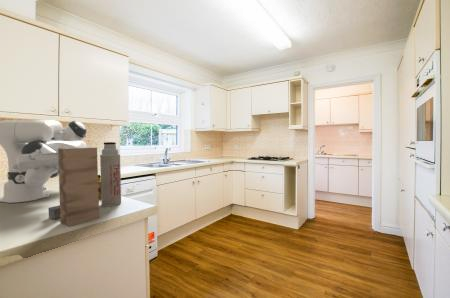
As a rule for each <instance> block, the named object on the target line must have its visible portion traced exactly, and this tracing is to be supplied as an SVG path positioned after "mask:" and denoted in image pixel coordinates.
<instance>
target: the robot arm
mask: <svg viewBox="0 0 450 298" xmlns="http://www.w3.org/2000/svg"><path fill="white" fill-rule="evenodd" d="M86 133H87V127H86V126H85V125H84V124H83V123H81V122H80V121H77V120H72V121H70V122H69V123H68V125H66V126H65V127H64V126H63V124H62V123H61V122H60V121H59V120H55V119H52V118H51V119H49V118H47V119H46V118H44V119H43V118H42V119H41V118H40V119H34V120H33V119H32V120H31V119H30V120H28V119H27V120H24V119H23V120H22V119H21V120H18V119H17V120H15V119H11V120H10V119H9V120H8V119H7V120H5V119H4V120H0V146H1V148H2V149H3V150H4V151H5V154H6V158H7V164H8V171H7V175H6V177H7V181H6V182H5V183H3V198H0V202H1V203H2V202H3V203H11V204H12V203H23V202H24V203H26V202H31V201H36V200H40V199H45V198H49V197H50V190H49V189H47V187H45V184H46V183H47V182H48V181H49V180H50V179H53V178H57V177H59V164H58V148H88V144H87V143H86V142H85V141H84V140H83V139H84V138H86V136H87V134H86Z"/></svg>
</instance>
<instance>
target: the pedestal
mask: <svg viewBox="0 0 450 298" xmlns="http://www.w3.org/2000/svg"><path fill="white" fill-rule="evenodd" d="M58 164H59V175H58V185H59V186H58V188H59V189H58V190H59V205H60V219H59V220H60V224H62V225H64V226H66V227H72V226H76V225H79V224H82V223H85V222H89V221H93V220H97V219H99V218H100V208H99V207H100V203H99V198H98V175H99V172H98V171H99V170H98V169H99V167H98V166H99V165H98V147H87V148H58Z"/></svg>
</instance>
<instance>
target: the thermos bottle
mask: <svg viewBox="0 0 450 298" xmlns="http://www.w3.org/2000/svg"><path fill="white" fill-rule="evenodd" d="M116 144H117V143H116V142H115V141H114V142H113V141H110V142H109V141H106V142H103V148H102V149H101V154H100V155H99V158H100V159H99V162H100V163H99V165H100V176H101V200H100V201H101V206H103V207H113V206H117V205H120V204H121V203H122V184H121V183H122V178H121V174H122V173H121V154H119V149H118V148H117V145H116Z"/></svg>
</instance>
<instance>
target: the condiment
mask: <svg viewBox="0 0 450 298" xmlns="http://www.w3.org/2000/svg"><path fill="white" fill-rule="evenodd" d="M98 198H99V200H100V201H101V174H98Z"/></svg>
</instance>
